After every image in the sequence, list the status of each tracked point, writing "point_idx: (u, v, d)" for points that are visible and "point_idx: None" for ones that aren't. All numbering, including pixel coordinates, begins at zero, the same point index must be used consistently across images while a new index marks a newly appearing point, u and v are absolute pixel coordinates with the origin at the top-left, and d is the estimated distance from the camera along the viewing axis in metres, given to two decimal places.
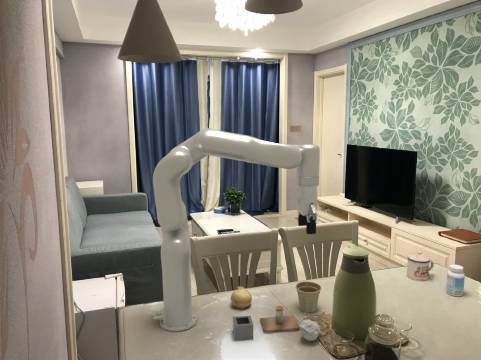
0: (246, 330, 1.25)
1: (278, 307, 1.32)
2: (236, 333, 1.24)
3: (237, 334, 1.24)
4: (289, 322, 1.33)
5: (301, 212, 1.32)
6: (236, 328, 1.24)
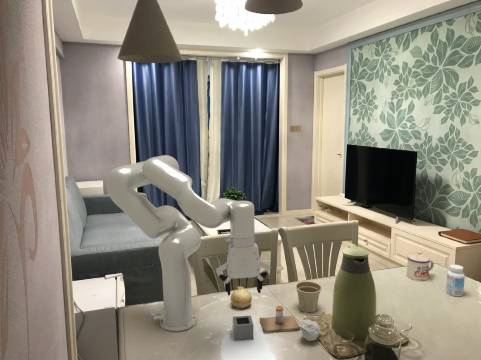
0: (246, 330, 1.25)
1: (278, 307, 1.32)
2: (236, 333, 1.24)
3: (237, 334, 1.24)
4: (289, 322, 1.33)
5: (253, 274, 1.22)
6: (236, 328, 1.24)
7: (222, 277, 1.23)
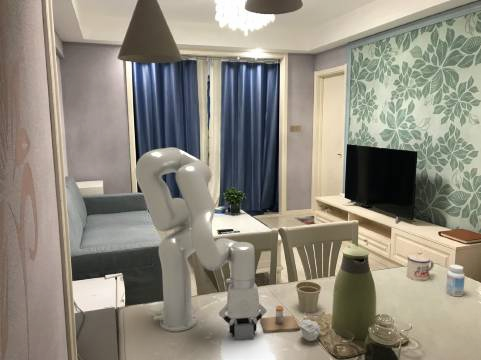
0: (246, 330, 1.25)
1: (278, 307, 1.32)
2: (236, 333, 1.24)
3: (237, 334, 1.24)
4: (289, 322, 1.33)
5: (252, 315, 1.24)
6: (236, 328, 1.24)
7: (227, 319, 1.25)
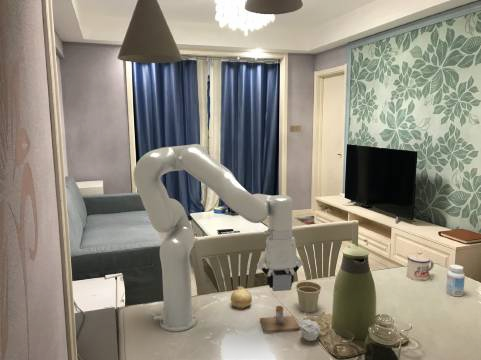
0: (284, 281, 1.28)
1: (278, 307, 1.32)
2: (275, 283, 1.27)
3: (275, 284, 1.27)
4: (289, 322, 1.33)
5: (290, 266, 1.27)
6: (274, 278, 1.27)
7: (265, 270, 1.29)
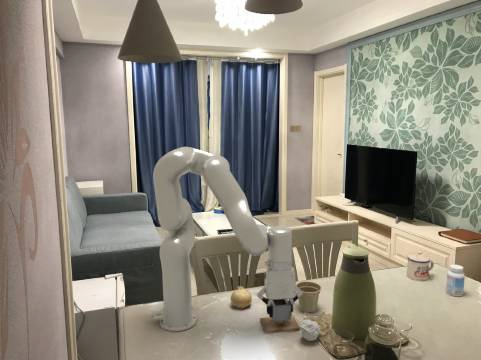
0: (284, 311, 1.29)
1: None
2: (275, 313, 1.29)
3: (275, 315, 1.29)
4: (289, 322, 1.33)
5: (289, 296, 1.29)
6: (274, 309, 1.29)
7: (265, 300, 1.30)
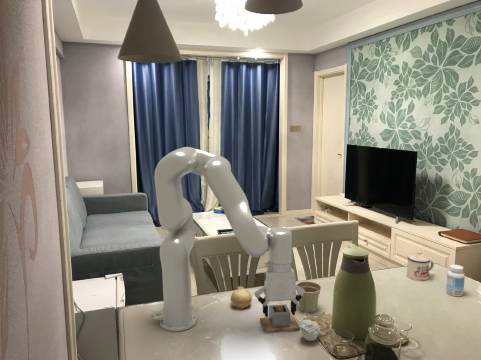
0: (283, 318, 1.30)
1: (278, 307, 1.32)
2: (274, 320, 1.30)
3: (275, 322, 1.30)
4: None
5: (289, 297, 1.29)
6: (274, 316, 1.29)
7: (261, 300, 1.30)
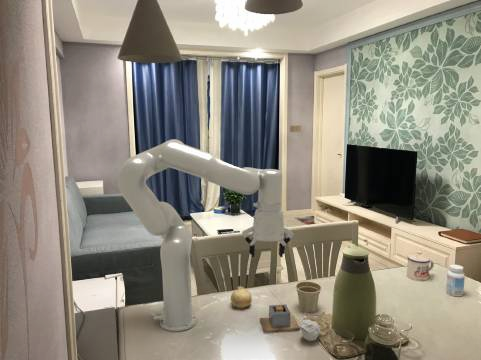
0: (283, 318, 1.30)
1: (278, 307, 1.32)
2: (274, 320, 1.30)
3: (275, 322, 1.30)
4: None
5: (277, 239, 1.30)
6: (274, 316, 1.29)
7: (248, 239, 1.31)
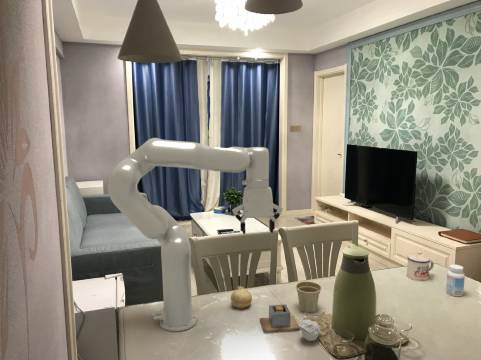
0: (283, 318, 1.30)
1: (278, 307, 1.32)
2: (274, 320, 1.30)
3: (275, 322, 1.30)
4: None
5: (266, 214, 1.33)
6: (274, 316, 1.29)
7: (238, 217, 1.34)
